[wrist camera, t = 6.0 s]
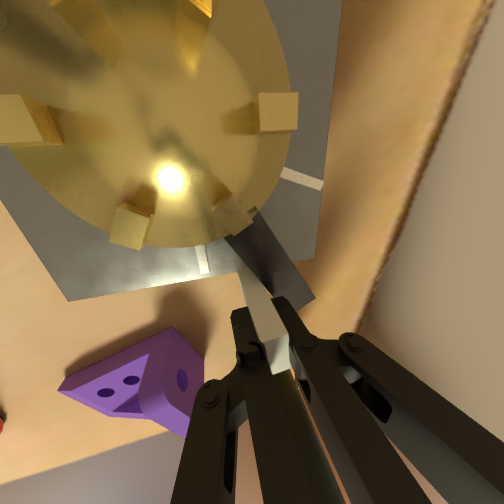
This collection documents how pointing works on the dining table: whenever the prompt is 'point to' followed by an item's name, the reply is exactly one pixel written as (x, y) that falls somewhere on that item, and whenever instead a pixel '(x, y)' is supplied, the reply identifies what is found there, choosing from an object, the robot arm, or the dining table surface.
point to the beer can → (1, 425)
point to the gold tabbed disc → (154, 120)
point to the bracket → (143, 382)
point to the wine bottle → (308, 442)
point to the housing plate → (220, 252)
